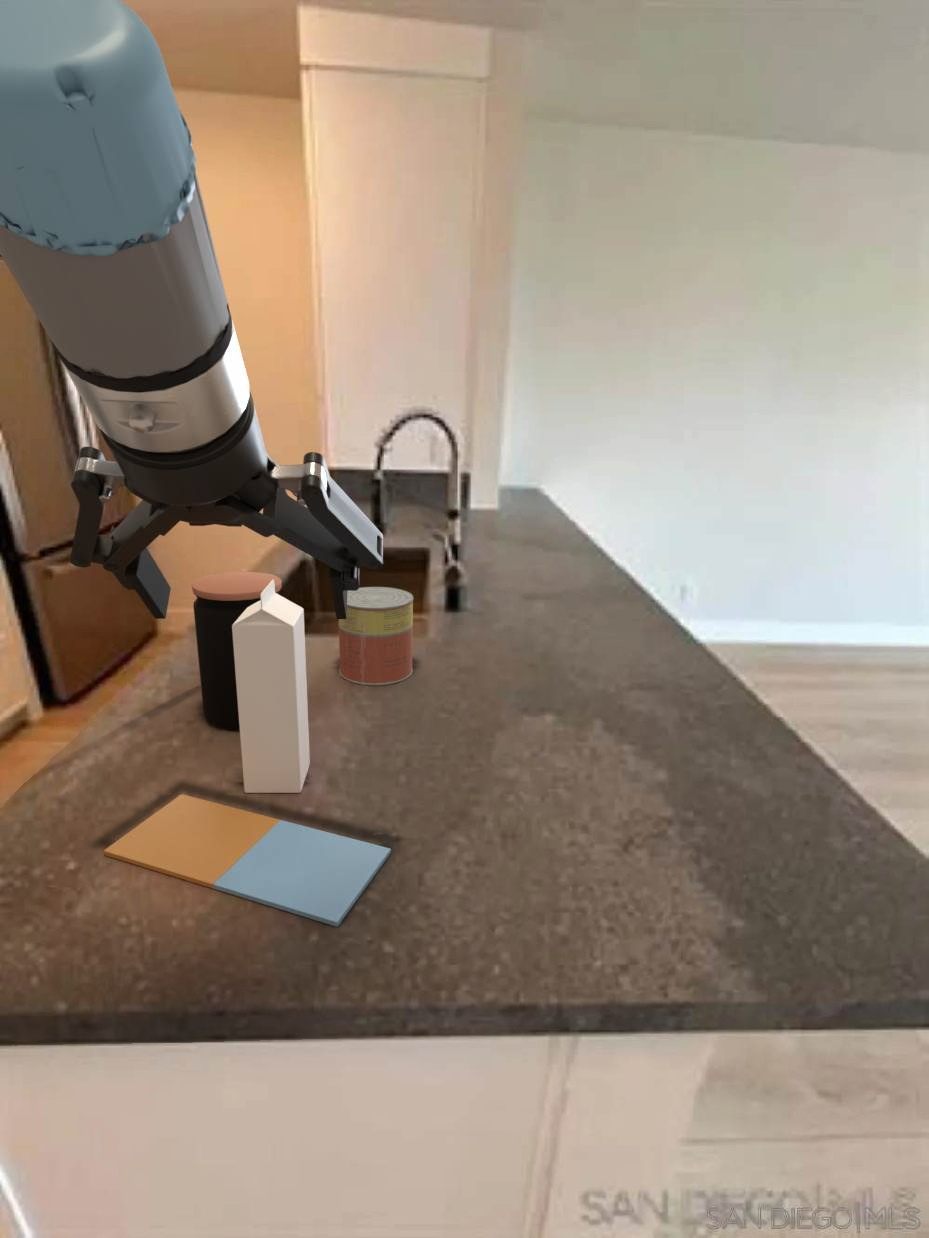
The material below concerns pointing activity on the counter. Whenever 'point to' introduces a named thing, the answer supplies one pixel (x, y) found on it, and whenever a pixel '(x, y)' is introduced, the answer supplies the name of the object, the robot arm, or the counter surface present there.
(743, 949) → the counter surface
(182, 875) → the sorting board
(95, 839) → the counter surface
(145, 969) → the counter surface
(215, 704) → the coffee jar
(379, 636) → the canned food
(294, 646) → the milk
